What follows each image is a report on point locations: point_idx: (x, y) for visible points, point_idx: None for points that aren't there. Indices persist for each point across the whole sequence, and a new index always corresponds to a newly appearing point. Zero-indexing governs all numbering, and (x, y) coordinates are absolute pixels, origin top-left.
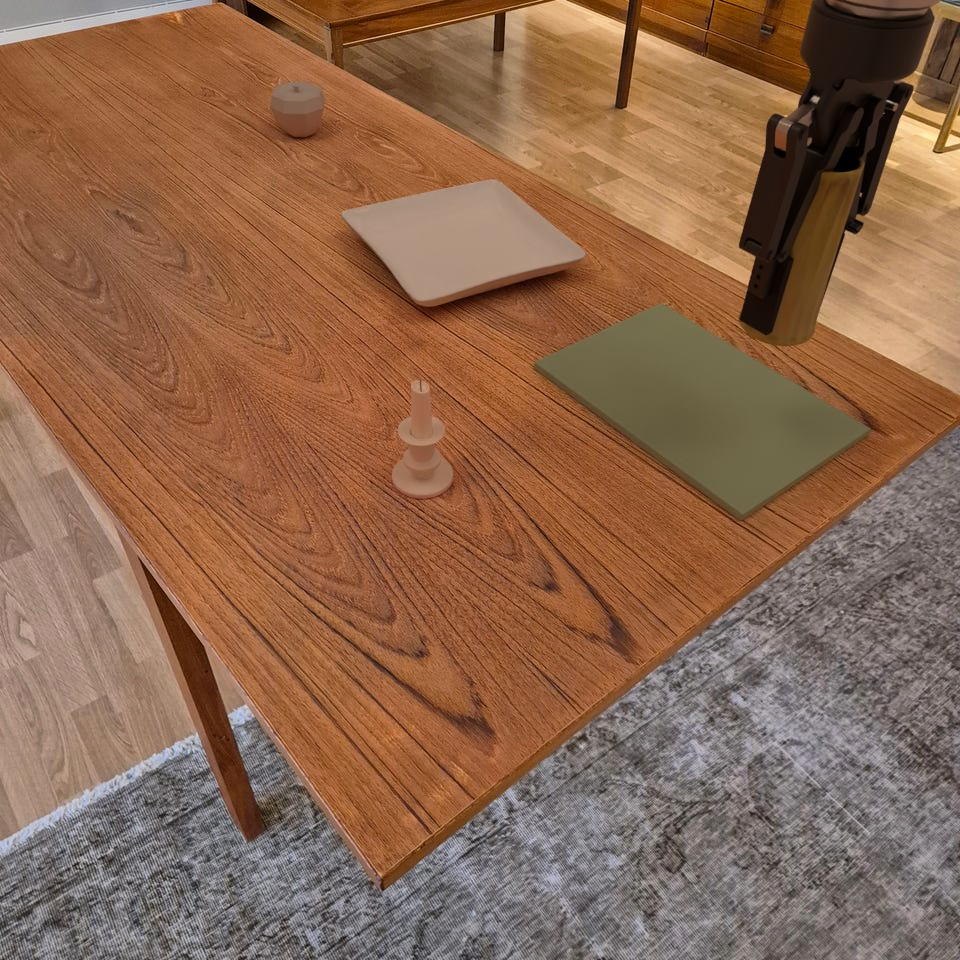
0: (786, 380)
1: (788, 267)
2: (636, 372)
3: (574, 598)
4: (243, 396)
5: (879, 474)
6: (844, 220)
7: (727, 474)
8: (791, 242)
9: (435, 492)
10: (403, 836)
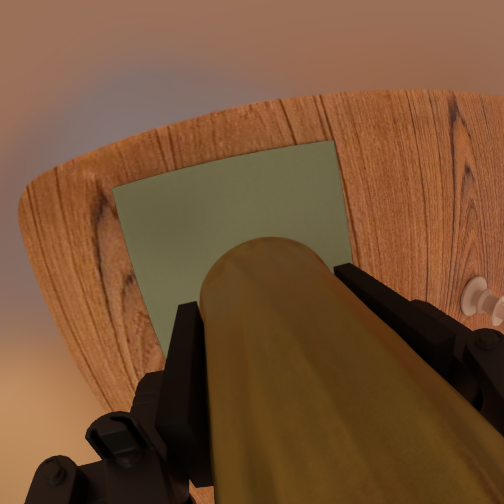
0: (146, 297)
1: (435, 327)
2: None
3: (461, 153)
4: None
5: (148, 132)
6: (359, 458)
7: (312, 192)
8: (496, 367)
9: (478, 277)
10: None
